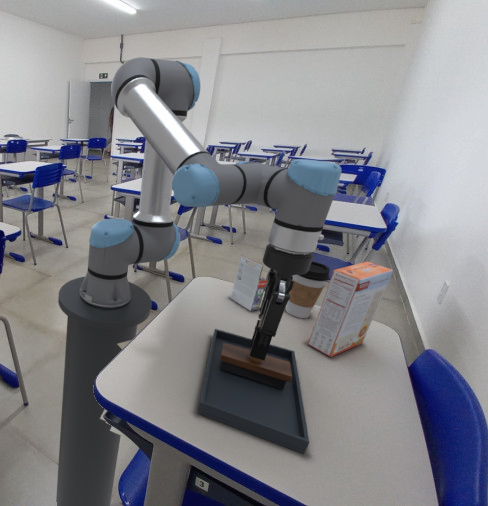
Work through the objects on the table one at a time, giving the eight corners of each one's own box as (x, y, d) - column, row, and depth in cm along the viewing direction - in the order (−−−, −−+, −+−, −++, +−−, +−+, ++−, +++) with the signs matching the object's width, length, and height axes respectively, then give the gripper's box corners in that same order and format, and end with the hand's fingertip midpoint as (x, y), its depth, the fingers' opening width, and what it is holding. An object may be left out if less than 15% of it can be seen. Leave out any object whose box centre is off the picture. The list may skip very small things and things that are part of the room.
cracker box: (337, 331, 94) (366, 260, 86) (362, 344, 89) (396, 270, 81) (304, 343, 88) (333, 267, 80) (330, 358, 83) (362, 279, 75)
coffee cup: (321, 319, 100) (339, 271, 94) (297, 322, 98) (314, 273, 92) (296, 303, 107) (312, 258, 101) (273, 306, 105) (288, 260, 99)
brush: (219, 356, 80) (233, 303, 75) (284, 377, 75) (305, 321, 70) (217, 370, 76) (232, 314, 70) (286, 392, 71) (308, 334, 65)
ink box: (238, 296, 110) (250, 253, 104) (259, 309, 103) (273, 264, 97) (229, 298, 108) (240, 254, 103) (250, 311, 101) (263, 265, 96)
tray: (212, 337, 89) (214, 328, 88) (290, 360, 82) (294, 351, 81) (197, 413, 66) (200, 402, 65) (304, 454, 59) (309, 442, 58)
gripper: (320, 267, 56) (279, 383, 65) (309, 239, 69) (275, 339, 78) (268, 257, 59) (235, 368, 68) (266, 232, 72) (239, 328, 81)
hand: (257, 352), depth 73 cm, fingers closed on brush, 3 cm apart
